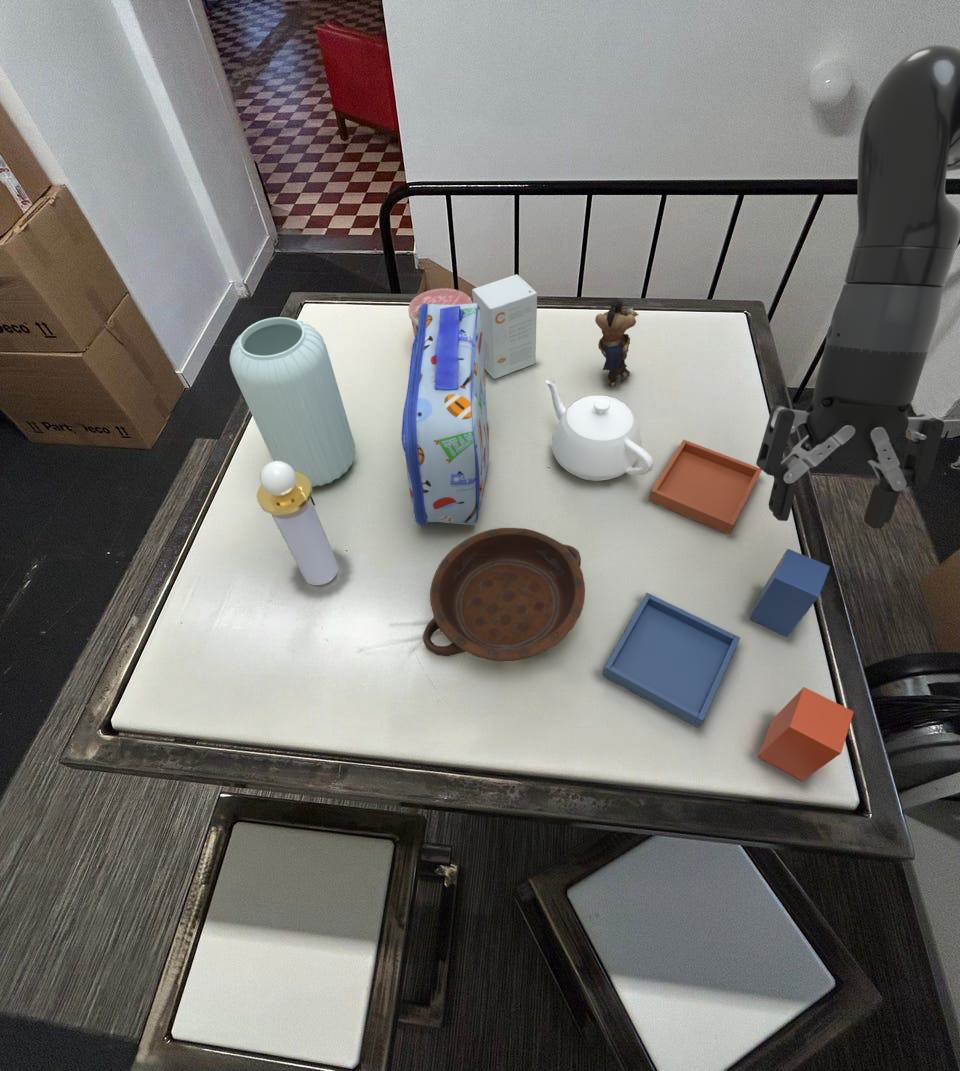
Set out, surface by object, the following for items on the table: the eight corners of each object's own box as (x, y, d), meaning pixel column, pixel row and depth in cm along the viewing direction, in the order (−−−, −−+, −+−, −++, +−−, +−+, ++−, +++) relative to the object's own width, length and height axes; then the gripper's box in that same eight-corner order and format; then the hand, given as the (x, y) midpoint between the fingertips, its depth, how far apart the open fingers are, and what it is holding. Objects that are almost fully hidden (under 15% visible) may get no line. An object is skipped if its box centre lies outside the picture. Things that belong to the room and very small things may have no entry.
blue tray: (735, 645, 70) (740, 637, 68) (698, 727, 65) (703, 720, 63) (643, 601, 74) (646, 592, 72) (602, 674, 69) (604, 667, 67)
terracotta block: (815, 743, 63) (854, 711, 56) (802, 781, 61) (841, 753, 54) (771, 720, 65) (803, 686, 57) (757, 756, 63) (789, 726, 55)
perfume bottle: (347, 586, 77) (303, 480, 61) (301, 597, 76) (245, 493, 60) (341, 550, 80) (298, 440, 64) (297, 560, 80) (243, 452, 64)
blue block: (798, 608, 72) (830, 566, 65) (787, 637, 70) (818, 597, 63) (761, 591, 74) (787, 548, 67) (748, 619, 72) (774, 577, 65)
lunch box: (423, 403, 97) (403, 272, 79) (488, 401, 96) (483, 269, 79) (411, 544, 80) (383, 419, 63) (490, 542, 80) (484, 416, 62)
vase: (264, 480, 88) (201, 352, 71) (310, 429, 94) (263, 299, 76) (330, 505, 85) (281, 377, 67) (373, 451, 91) (339, 320, 73)
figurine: (603, 399, 95) (616, 315, 83) (580, 380, 98) (590, 296, 86) (637, 382, 98) (654, 297, 85) (614, 364, 100) (627, 279, 88)
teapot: (513, 439, 91) (513, 385, 83) (573, 401, 96) (579, 347, 87) (612, 518, 82) (623, 466, 73) (673, 473, 86) (690, 418, 78)
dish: (625, 610, 73) (631, 589, 69) (475, 719, 66) (473, 702, 62) (533, 520, 82) (534, 496, 78) (392, 607, 75) (385, 586, 71)
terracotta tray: (757, 479, 85) (762, 468, 83) (729, 535, 79) (733, 525, 77) (680, 449, 88) (683, 439, 87) (648, 500, 83) (651, 490, 81)
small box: (517, 344, 105) (517, 272, 94) (536, 364, 101) (538, 292, 91) (475, 359, 103) (470, 288, 92) (493, 380, 99) (490, 309, 89)
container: (401, 351, 105) (394, 310, 98) (442, 322, 109) (438, 280, 103) (447, 375, 101) (442, 333, 94) (487, 344, 105) (486, 302, 99)
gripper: (807, 342, 49) (762, 531, 55) (995, 352, 48) (927, 543, 54) (774, 335, 56) (737, 503, 62) (937, 344, 55) (883, 514, 61)
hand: (825, 521), depth 58 cm, fingers open, 8 cm apart
